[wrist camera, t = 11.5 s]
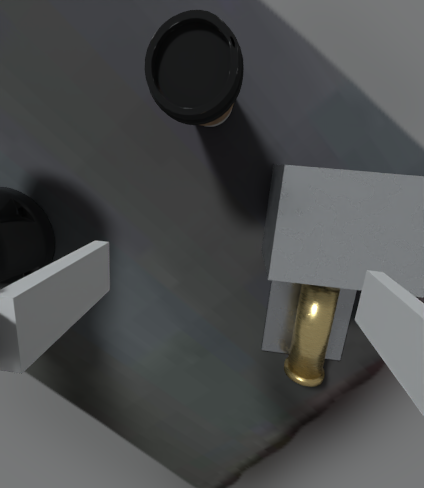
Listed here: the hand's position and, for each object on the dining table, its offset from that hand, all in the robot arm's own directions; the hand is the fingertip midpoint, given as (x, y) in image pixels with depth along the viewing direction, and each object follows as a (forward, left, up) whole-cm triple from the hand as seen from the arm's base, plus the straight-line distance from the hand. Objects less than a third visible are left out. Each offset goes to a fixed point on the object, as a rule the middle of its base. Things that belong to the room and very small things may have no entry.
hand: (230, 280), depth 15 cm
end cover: (+12, -16, -26) cm, 33 cm away
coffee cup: (-5, +13, -27) cm, 30 cm away
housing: (+12, -8, -27) cm, 30 cm away
